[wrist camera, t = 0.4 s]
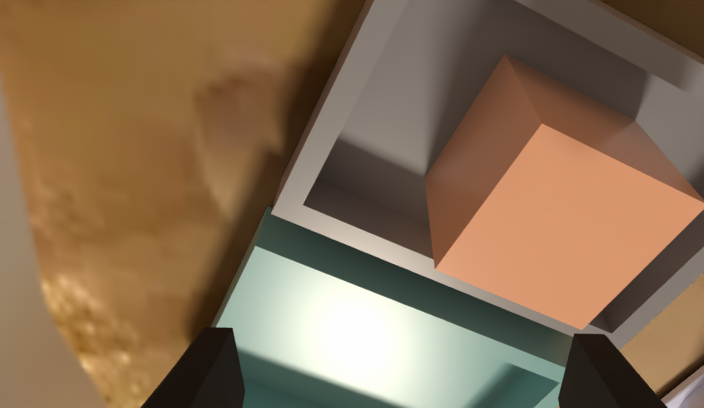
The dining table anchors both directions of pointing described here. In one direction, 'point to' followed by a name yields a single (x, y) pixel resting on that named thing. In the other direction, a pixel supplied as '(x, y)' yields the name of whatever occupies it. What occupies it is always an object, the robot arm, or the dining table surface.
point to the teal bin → (376, 333)
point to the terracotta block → (551, 197)
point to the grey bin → (450, 108)
